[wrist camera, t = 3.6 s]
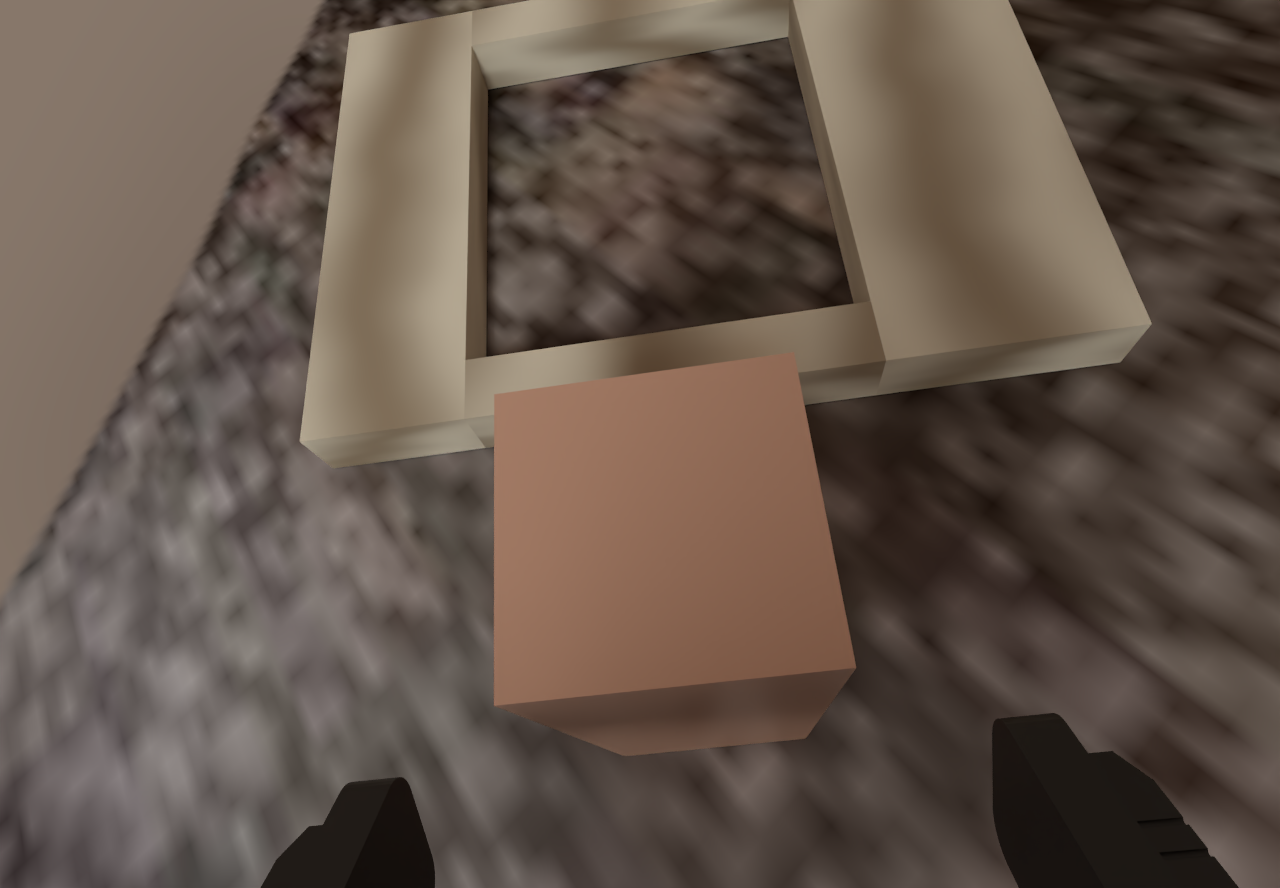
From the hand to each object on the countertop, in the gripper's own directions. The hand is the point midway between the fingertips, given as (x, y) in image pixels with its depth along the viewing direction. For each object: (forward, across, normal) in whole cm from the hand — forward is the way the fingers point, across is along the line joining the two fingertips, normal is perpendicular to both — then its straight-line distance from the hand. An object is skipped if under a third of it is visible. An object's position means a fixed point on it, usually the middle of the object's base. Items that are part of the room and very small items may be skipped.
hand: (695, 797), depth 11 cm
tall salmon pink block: (+9, 0, +4) cm, 10 cm away
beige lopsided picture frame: (+20, -1, -7) cm, 22 cm away
